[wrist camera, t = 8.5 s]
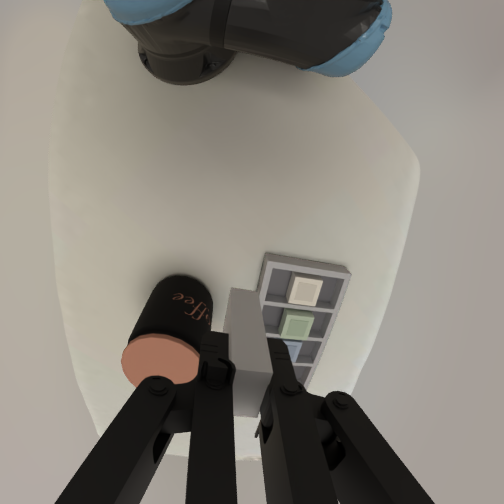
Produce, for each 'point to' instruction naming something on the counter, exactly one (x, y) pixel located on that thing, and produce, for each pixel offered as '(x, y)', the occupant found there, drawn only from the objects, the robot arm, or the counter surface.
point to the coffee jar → (169, 332)
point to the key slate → (292, 347)
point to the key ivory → (304, 288)
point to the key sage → (295, 324)
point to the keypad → (325, 310)
